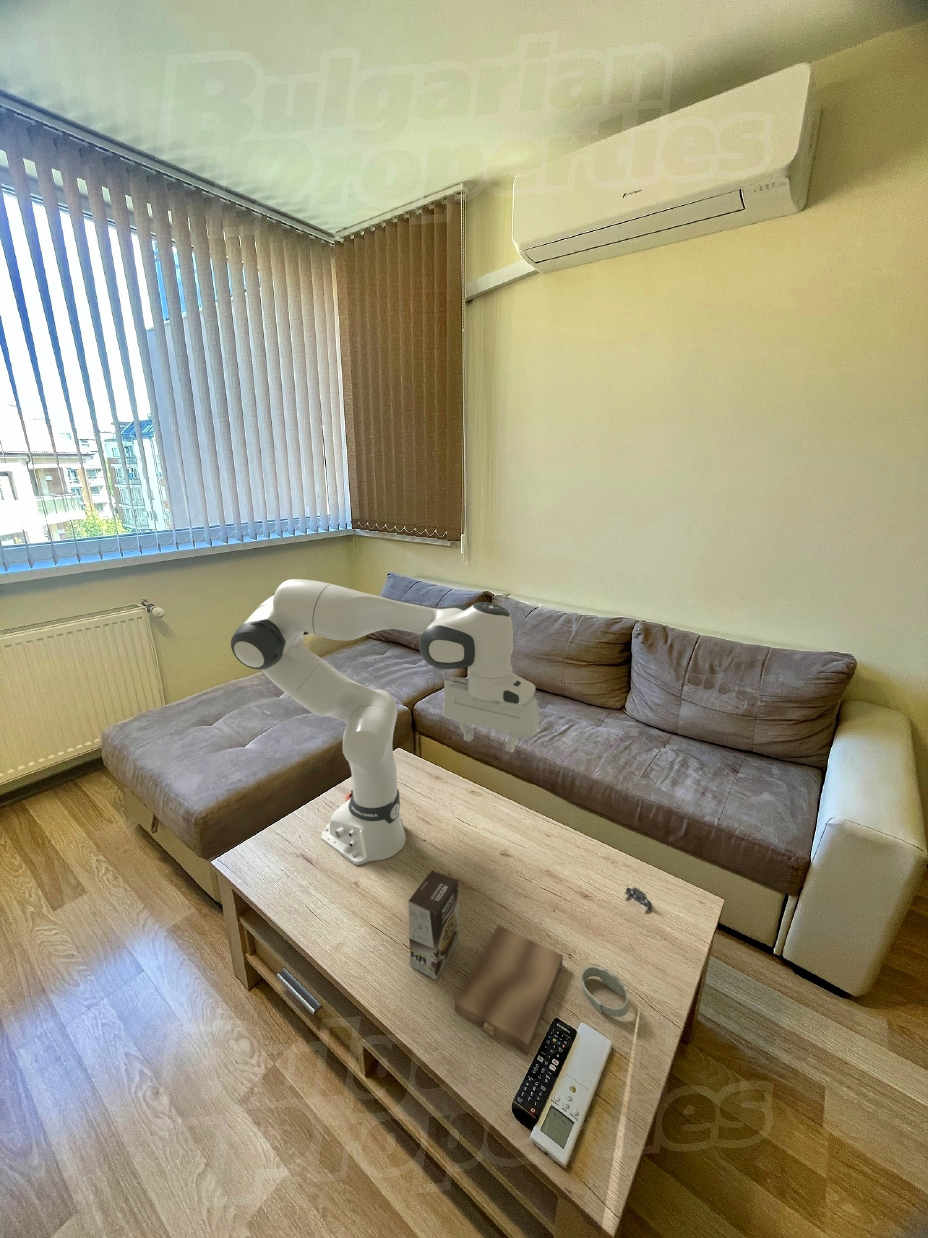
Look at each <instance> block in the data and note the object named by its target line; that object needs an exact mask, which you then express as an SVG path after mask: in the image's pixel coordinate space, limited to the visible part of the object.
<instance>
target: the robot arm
mask: <svg viewBox="0 0 928 1238" xmlns="http://www.w3.org/2000/svg"><path fill="white" fill-rule="evenodd" d="M513 628H514V627H513V620H512V616H511V614H510V612H509V611H508V610H507V609H506V608H505V607H503V606H501V605H499V604H497V603H493V602H488V601H487V602H481V601H480V602H479V601H478V602H475V603H473V604H472V605H471V606H470V607H469V606H466V605H463V604H451V605H450V604H449V605H447V606H431V605H427V604H426V605H425V604H421V603H417V602H410V601H406V600H400V599H394V598H388V597H384V596H379V595H375V594H371V593H367V592H362V591H360V590H356V589H353V588H349V587H345V586H341V585H337V584H333V583H329V582H325V581H319V580H312V579H311V580H310V579H304V578H303V579H302V578H291V579H287V580H284V581H283V582H282V583H280V584H279V586H278V587H277V588H276V590H275V591H274V593H273V594H272V595H271V596H270V597H269V598H267V599H266V600H264V601H263V602H262V603H260V605H258V606H257V607H256V608H255V610H254V612H252V614H251V613H250V616H248V617H247V619H246V620H245V621H244V622H243V624H241V625H239V626H238V627H237V629H236V630H235V631H234V634H233V635H232V637H231V639H230V649H231V651H232V653H233V656H234V657H235V658H236V659H237V660H238V662H240V664H243V665H244V666H245V667H247V668H250V669H252V670H258V671H262V672H263V673H264V674H265V675H266V676H267V677H268V679H269V680H271V682H272V683H273V684H275V685H276V686H277V687H278V688H279V689H280V690H281V691H282V692H284V694H286V695H287V696H288V697H291V698H292V699H293V700H294V701H296V702H297V703H298V704H300V705H301V706H302V707H304V708H305V709H307V710H308V711H310V712H311V713H313V714H314V715H315V716H317V717H329V718H334V719H337V720H340V721H342V722H344V723H345V724H346V726H345V729H344V732H343V737H342V753H343V756H344V758H345V759H346V761H348V763H349V764H348V765H349V768H350V772H351V782H352V784H351V785H352V789H351V790H350V793H348V794H347V795H346V796H345V797H344V799H345V800H344V803H342V804H341V805H340V806H338V808H337V809H336V810H334V812H333V813H332V815H331V818H330V821H329V822H328V824H327V825H326V826H325V828H324V829H323V830H322V831H321V835H320V840H321V841H322V842H323V843H324V842H325V843H324V844H326V845H327V846H328V845H329V846H328V847H330V848H331V847H332V848H333V849H332V848H331V849H332V850H334V851H335V850H336V851H335V852H337V853H338V854H339V853H340V854H339V855H340V856H342V855H343V856H344V857H343V856H342V857H343V858H345V860H346V859H347V861H349V862H350V863H351V864H353V865H355V866H360V865H364V864H365V863H368V862H373V861H374V862H376V861H382V860H386V859H388V858H391V857H393V856H395V855H396V854H397V853H399V852H400V851H401V850H402V849H403V847H404V846H405V844H406V839H407V836H406V832H405V829H404V826H403V823H402V817H401V813H400V808H401V801H400V800H401V799H400V798H401V797H400V790H399V788H398V775H397V773H398V772H397V763H396V761H395V758H394V757H395V756H394V751H393V738H394V731H395V726H396V722H397V718H398V711H397V705H396V700H395V699H394V697H393V696H392V694H390V693H389V692H388V691H386V690H382V689H372V688H370V687H367V686H365V685H363V684H360V683H358V682H356V681H354V680H352V679H350V678H348V677H347V676H345V675H344V674H342V673H341V672H340V671H338V670H337V669H336V668H334V667H333V666H332V665H331V664H329V663H328V662H326V661H325V660H324V659H322V658H321V657H320V656H318V655H316V654H315V653H314V652H312V650H310V649H309V648H307V646H306V645H305V643H304V639H303V638H304V636H308V635H310V634H312V635H313V636H318V637H322V638H325V639H329V640H335V641H354V640H356V639H359V638H362V637H364V636H367V635H370V634H372V633H376V632H378V631H385V630H399V631H406V632H410V633H415V634H420V638H419V641H418V642H419V643H418V644H419V645H418V646H419V652H420V654H421V656H422V658H423V659H424V661H425V662H426V663H427V664H428V665H430V666H431V667H433V668H436V669H437V670H455V669H456V670H457V669H465V668H467V677H458V676H456V675H451V676H450V677H446V678H445V680H444V682H443V687H444V688H443V690H444V692H445V693H444V695H443V696H444V697H443V704H442V705H443V706H442V713H443V715H444V717H445V718H446V719H450V720H452V721H457V722H458V726H459V729H460V730H461V732H462V734H463V740H464V741H467V742H471V741H472V740H473V739H474V730H471V728H470V726H469V725H474V726H477V727H481V728H486V729H490V730H494V731H497V732H502V733H505V734H509V735H510V738H511V739H512V740H509V739H508V740H507V742H505V743H504V747H505V749H504V750H505V751H506V752H509V753H514V751H515V748H516V742H517V740H518V739H519V738H520V737H522V738H526V739H531V738H532V737H533V736H534V735H536V734H537V732H538V730H539V727H540V718H539V717H540V715H539V705H538V701H537V699H536V698H535V697H534V695H535V692H536V685H535V684H534V683H532V682H530V681H528V680H527V679H524V678H523V677H521V676H519V675H517V674H516V673H515V672H513V664H512V662H511V661H512V660H511V659H512V654H513V651H514V629H513Z"/></svg>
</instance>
